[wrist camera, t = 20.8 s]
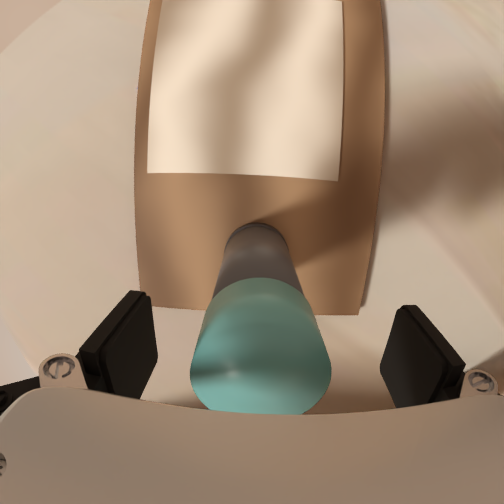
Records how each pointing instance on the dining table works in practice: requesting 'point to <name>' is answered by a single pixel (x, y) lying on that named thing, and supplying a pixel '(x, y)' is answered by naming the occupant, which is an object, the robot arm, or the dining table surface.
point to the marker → (259, 332)
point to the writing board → (259, 142)
